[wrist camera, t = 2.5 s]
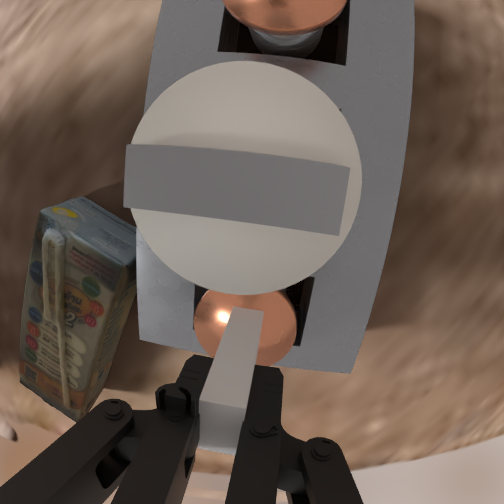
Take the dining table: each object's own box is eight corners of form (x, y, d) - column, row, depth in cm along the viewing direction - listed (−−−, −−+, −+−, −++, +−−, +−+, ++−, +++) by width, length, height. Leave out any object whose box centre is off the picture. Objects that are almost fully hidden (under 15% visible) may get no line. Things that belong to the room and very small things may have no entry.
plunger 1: (235, 66, 16) (207, 25, 10) (246, -7, 15) (226, -68, 8) (327, 77, 16) (347, 38, 9) (333, 2, 14) (351, -57, 8)
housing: (164, 306, 25) (139, 339, 20) (193, -4, 17) (171, -35, 13) (341, 333, 24) (350, 373, 19) (390, 17, 16) (413, -11, 12)
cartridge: (230, 192, 22) (103, 294, 6) (239, 117, 20) (114, 48, 5) (306, 203, 21) (344, 335, 6) (316, 127, 20) (392, 67, 4)
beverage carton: (165, 238, 23) (125, 270, 17) (106, 390, 30) (78, 431, 23) (84, 191, 23) (29, 207, 17) (48, 351, 29) (14, 384, 23)
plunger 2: (217, 305, 23) (192, 360, 17) (223, 236, 22) (195, 273, 15) (288, 316, 23) (286, 376, 17) (300, 247, 21) (305, 290, 15)
